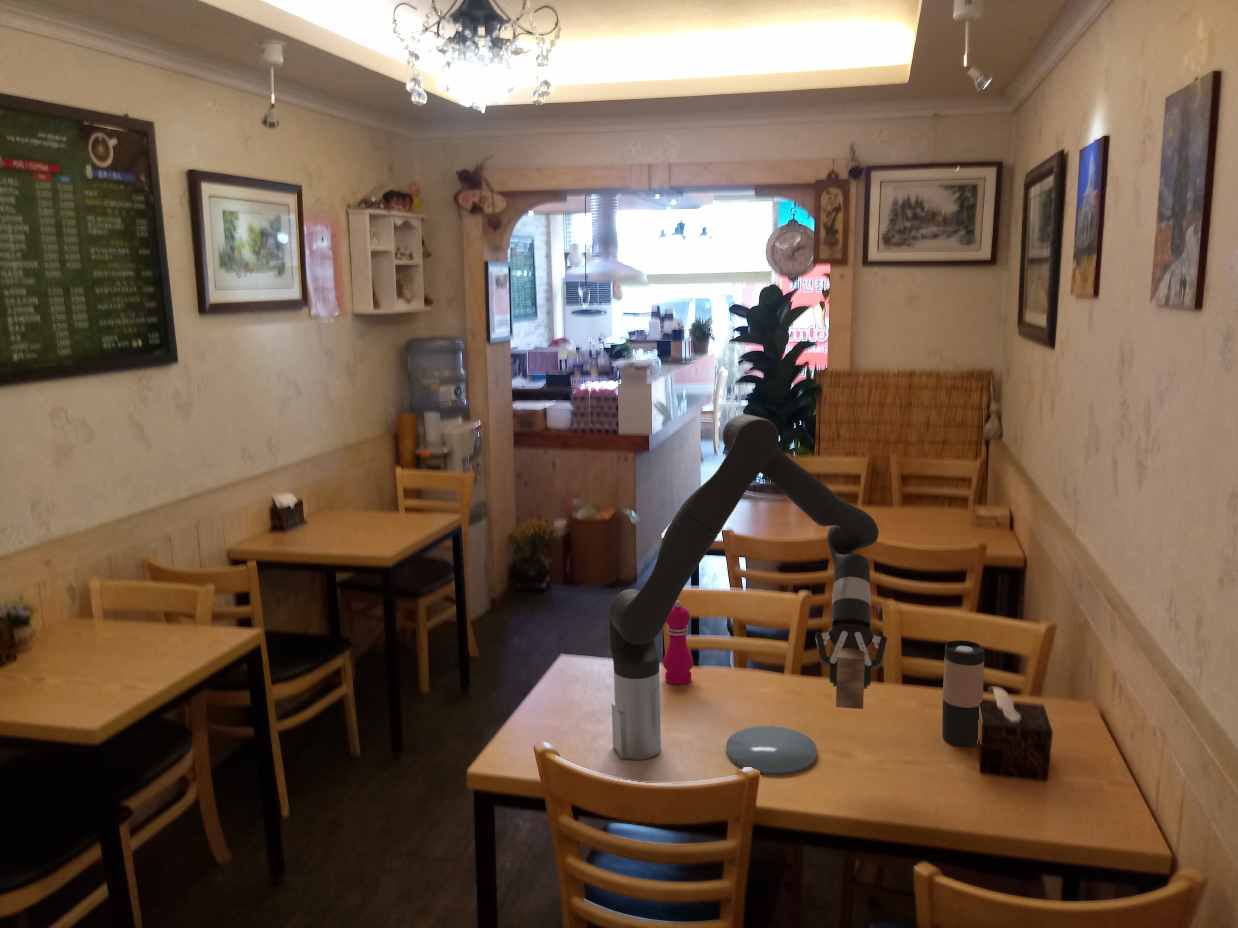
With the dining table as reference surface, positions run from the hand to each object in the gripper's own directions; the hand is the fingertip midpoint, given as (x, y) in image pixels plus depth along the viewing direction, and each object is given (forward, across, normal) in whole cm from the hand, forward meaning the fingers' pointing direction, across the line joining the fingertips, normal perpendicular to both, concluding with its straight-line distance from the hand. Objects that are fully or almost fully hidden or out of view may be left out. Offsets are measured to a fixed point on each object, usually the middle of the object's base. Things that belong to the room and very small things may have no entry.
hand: (850, 685), depth 176 cm
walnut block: (+2, 0, +4) cm, 5 cm away
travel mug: (0, +23, +26) cm, 34 cm away
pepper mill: (-14, -40, +39) cm, 57 cm away
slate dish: (+9, -15, +16) cm, 24 cm away
